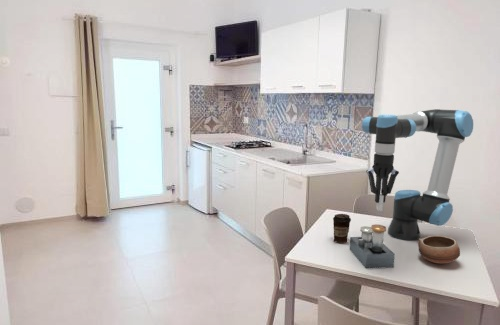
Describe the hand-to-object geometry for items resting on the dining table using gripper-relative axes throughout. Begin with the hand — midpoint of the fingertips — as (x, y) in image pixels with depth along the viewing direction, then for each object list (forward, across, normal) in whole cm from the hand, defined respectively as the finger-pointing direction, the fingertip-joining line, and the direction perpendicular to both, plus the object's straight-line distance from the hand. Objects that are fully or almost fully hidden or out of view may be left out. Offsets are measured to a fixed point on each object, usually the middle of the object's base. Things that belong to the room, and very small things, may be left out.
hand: (379, 210), depth 155 cm
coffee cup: (+24, +7, -24) cm, 35 cm away
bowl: (+24, -28, -1) cm, 37 cm away
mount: (+24, 0, -6) cm, 24 cm away
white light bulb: (+23, 0, -11) cm, 25 cm away
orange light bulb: (+18, 0, 0) cm, 18 cm away
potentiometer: (+18, +4, -6) cm, 19 cm away
